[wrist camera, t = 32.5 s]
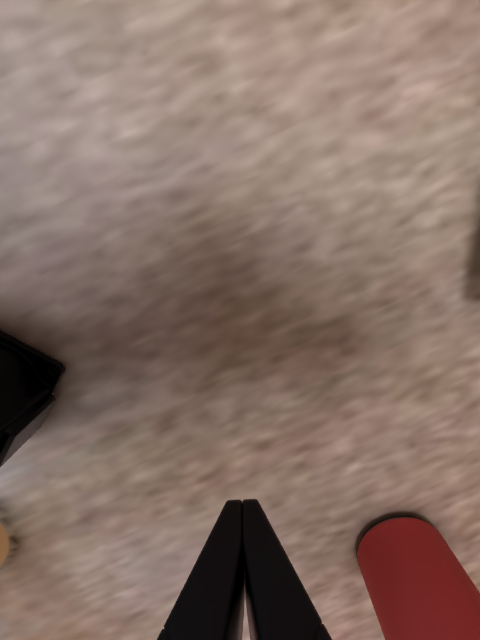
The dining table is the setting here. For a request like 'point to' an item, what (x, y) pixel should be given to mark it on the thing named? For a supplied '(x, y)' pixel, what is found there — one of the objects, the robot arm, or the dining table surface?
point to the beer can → (417, 583)
